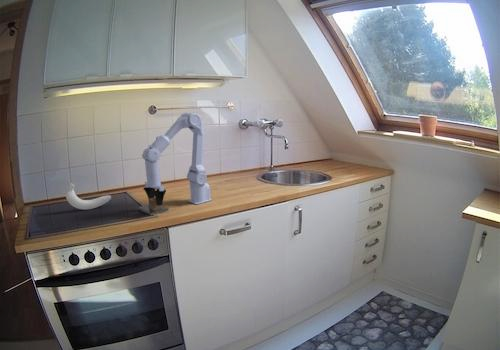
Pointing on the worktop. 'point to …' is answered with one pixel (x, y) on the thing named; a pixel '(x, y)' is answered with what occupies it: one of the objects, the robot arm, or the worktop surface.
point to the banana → (85, 204)
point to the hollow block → (154, 205)
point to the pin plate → (150, 212)
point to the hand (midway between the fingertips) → (155, 203)
